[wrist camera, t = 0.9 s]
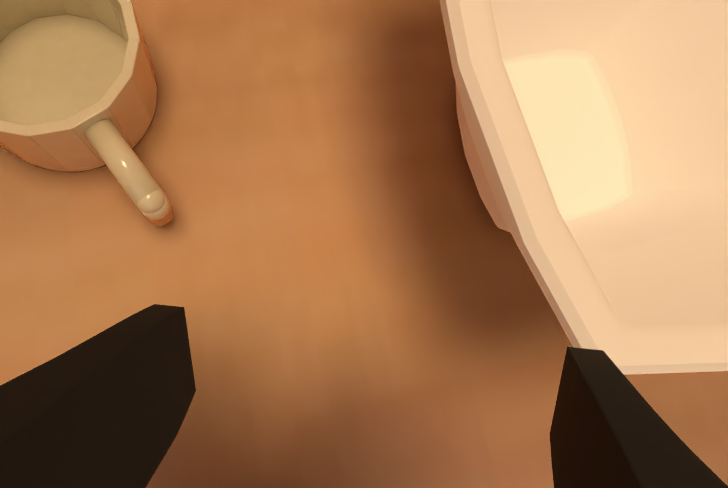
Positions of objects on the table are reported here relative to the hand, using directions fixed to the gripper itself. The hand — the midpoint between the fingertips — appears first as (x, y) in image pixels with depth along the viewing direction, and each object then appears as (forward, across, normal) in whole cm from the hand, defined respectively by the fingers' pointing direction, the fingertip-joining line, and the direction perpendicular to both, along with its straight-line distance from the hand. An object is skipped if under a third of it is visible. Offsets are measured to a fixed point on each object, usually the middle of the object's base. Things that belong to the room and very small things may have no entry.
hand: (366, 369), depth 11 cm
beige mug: (+15, +14, 0) cm, 20 cm away
